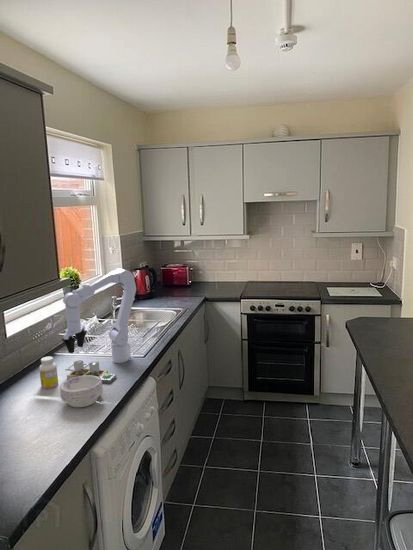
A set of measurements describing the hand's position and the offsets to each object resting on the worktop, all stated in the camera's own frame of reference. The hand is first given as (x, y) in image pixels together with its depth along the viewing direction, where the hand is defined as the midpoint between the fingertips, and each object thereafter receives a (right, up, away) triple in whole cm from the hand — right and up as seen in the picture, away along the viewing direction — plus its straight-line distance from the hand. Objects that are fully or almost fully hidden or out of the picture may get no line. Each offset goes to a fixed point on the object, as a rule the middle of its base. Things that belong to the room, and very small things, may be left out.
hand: (76, 349), depth 191 cm
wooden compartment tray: (+7, -11, -5) cm, 14 cm away
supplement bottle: (-7, -14, -14) cm, 20 cm away
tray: (-1, -10, +5) cm, 11 cm away
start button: (+16, -13, -10) cm, 23 cm away
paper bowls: (+11, -15, -27) cm, 33 cm away
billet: (+3, -10, -4) cm, 12 cm away
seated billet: (+10, -10, -6) cm, 16 cm away
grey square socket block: (+16, -12, -10) cm, 22 cm away
